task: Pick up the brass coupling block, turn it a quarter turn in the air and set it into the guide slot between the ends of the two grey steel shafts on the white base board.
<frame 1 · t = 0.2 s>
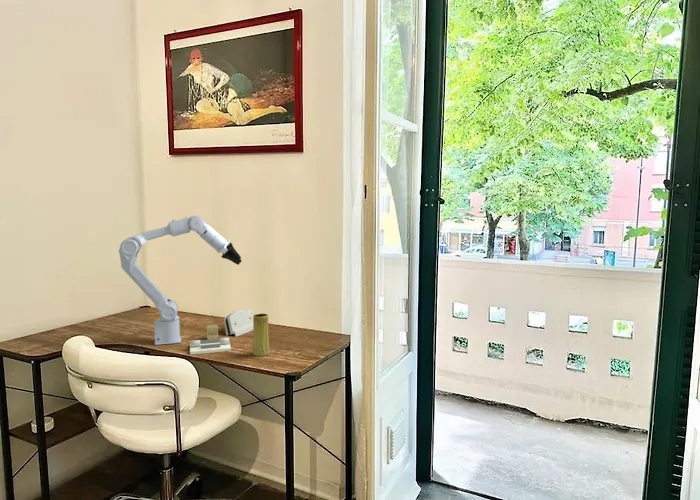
hand: (239, 261, 201), 31 cm above the table, tool tilted 45°, fingers open, 7 cm apart
hinge: (241, 331, 211), on the table
vase: (261, 354, 180), on the table
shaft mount: (210, 347, 187), on the table
coupler: (212, 339, 198), on the table
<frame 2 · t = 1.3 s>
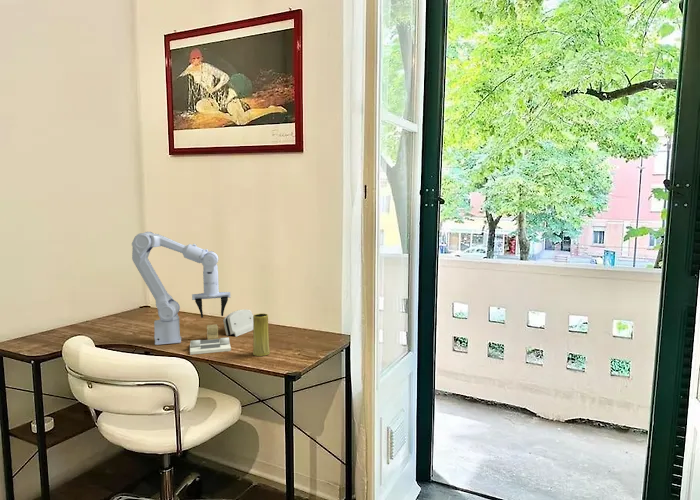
hand: (212, 316, 197), 9 cm above the table, tool pointing down, fingers open, 7 cm apart
nothing on the table moved.
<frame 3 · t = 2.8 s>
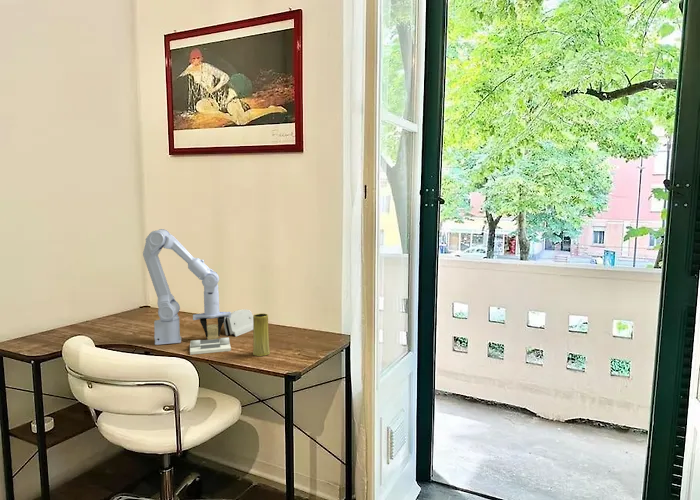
hand: (212, 336, 198), 1 cm above the table, tool pointing down, fingers closed on coupler, 4 cm apart
coupler: (212, 339, 198), on the table, touching gripper
everything else where it was.
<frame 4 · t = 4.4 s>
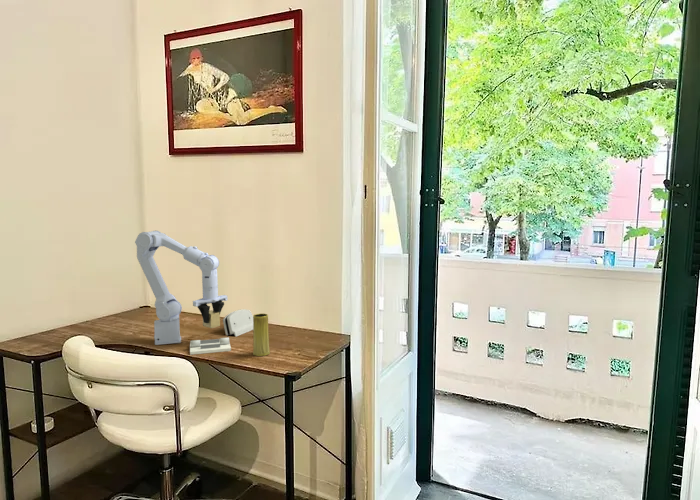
hand: (211, 321, 193), 8 cm above the table, tool pointing down, fingers closed on coupler, 4 cm apart
coupler: (211, 326, 193), point 7 cm above the table, touching gripper
everything else where it was.
when the fingers open (4 cm above the table, at t = 6.2 s): coupler stays where it is, resting on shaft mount.
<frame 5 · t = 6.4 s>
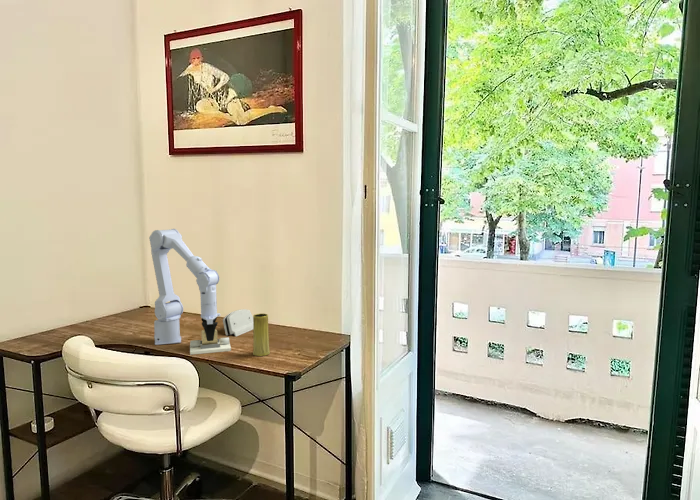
hand: (209, 338, 186), 4 cm above the table, tool pointing down, fingers open, 5 cm apart
coupler: (209, 345, 187), point 1 cm above the table, touching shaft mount
everything else where it was.
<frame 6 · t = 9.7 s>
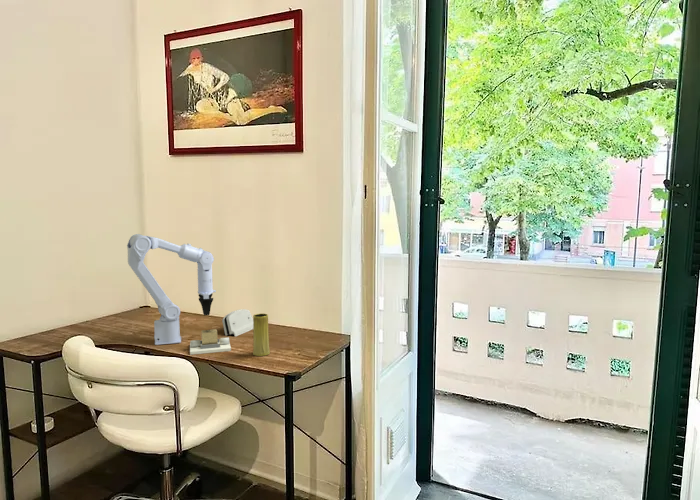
hand: (206, 313, 203), 9 cm above the table, tool pointing down, fingers open, 7 cm apart
nothing on the table moved.
at the end: coupler 0.1 cm off-centre on the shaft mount, point 1.0 cm above the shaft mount's base; coupler tilted 0°; the gripper is holding nothing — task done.
